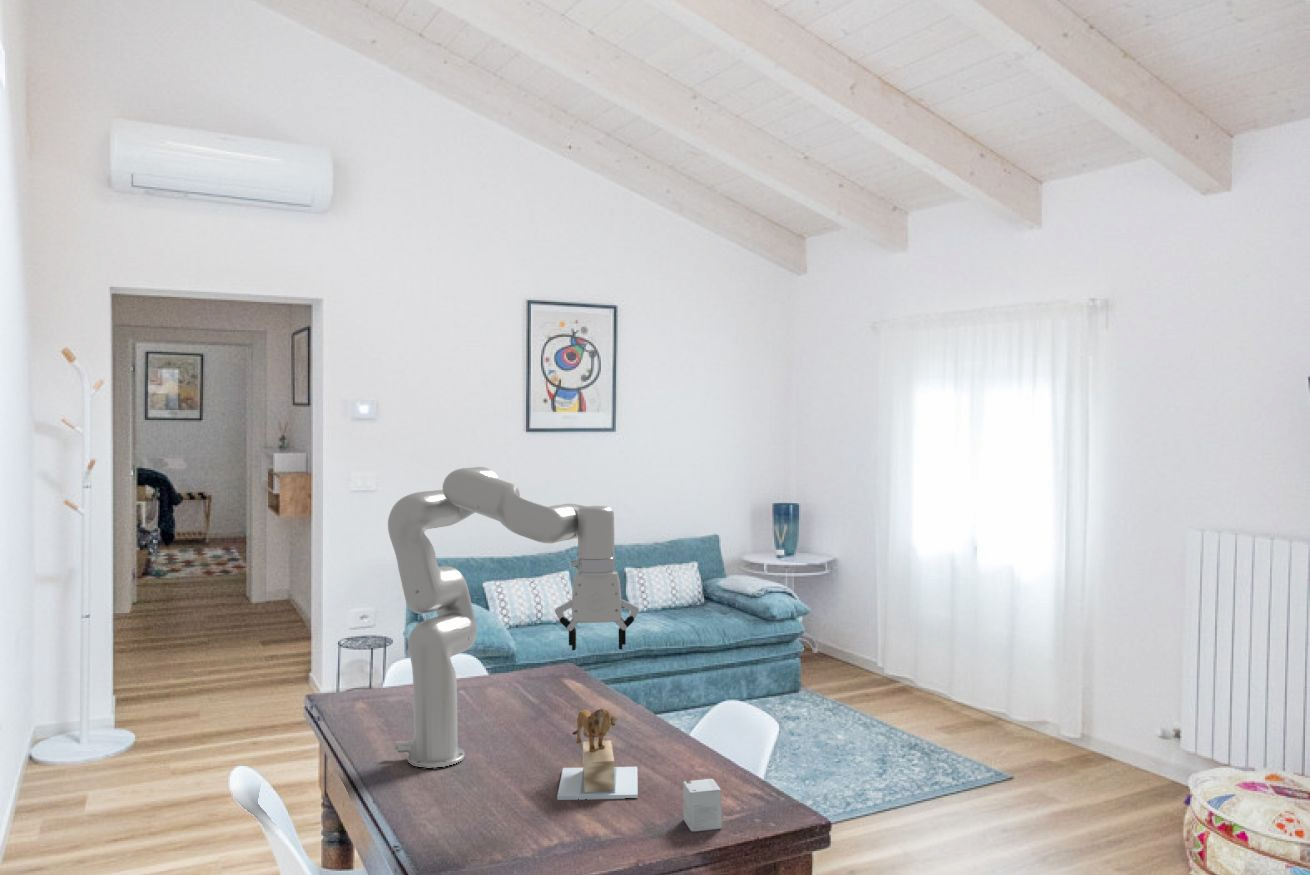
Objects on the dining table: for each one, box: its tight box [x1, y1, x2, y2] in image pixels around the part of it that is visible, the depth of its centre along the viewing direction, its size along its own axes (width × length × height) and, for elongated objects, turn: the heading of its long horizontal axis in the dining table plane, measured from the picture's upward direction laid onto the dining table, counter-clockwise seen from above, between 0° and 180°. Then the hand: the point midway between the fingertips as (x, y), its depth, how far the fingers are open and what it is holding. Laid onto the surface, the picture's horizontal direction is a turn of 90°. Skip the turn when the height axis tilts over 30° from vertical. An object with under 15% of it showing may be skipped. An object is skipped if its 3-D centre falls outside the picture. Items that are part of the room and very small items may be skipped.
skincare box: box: [682, 778, 723, 832], centre depth 184 cm, size 6×6×7 cm
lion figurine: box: [571, 707, 619, 752], centre depth 208 cm, size 15×5×9 cm, turn 37°
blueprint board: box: [556, 766, 639, 801], centre depth 204 cm, size 16×16×1 cm
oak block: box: [582, 739, 615, 792], centre depth 204 cm, size 6×13×6 cm, turn 6°
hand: (597, 648), depth 204 cm, fingers open, 9 cm apart
